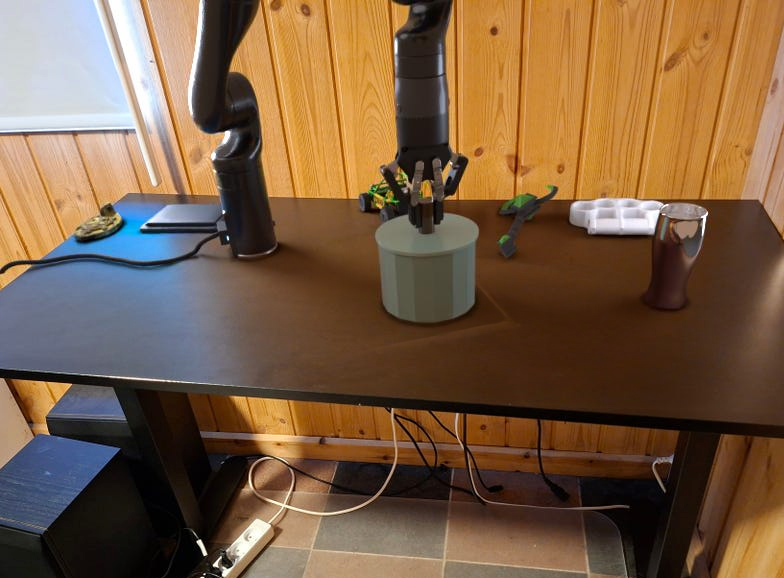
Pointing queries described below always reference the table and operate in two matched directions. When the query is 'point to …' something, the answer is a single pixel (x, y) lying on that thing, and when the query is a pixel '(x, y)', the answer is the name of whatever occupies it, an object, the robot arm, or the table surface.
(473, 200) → the table surface
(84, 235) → the olive oval piece
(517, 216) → the war hammer
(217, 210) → the dark grey flat block
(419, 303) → the pot
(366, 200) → the motor vehicle
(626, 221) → the white flat holed piece
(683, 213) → the beer glass
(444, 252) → the pot lid
